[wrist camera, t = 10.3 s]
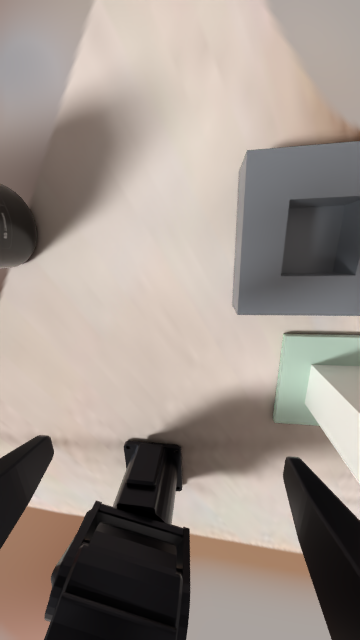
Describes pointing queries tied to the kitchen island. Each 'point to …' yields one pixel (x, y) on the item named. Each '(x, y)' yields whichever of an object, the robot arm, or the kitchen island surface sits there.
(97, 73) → the kitchen island surface
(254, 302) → the grey square socket block
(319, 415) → the plug
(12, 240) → the supplement bottle
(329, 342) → the mat
